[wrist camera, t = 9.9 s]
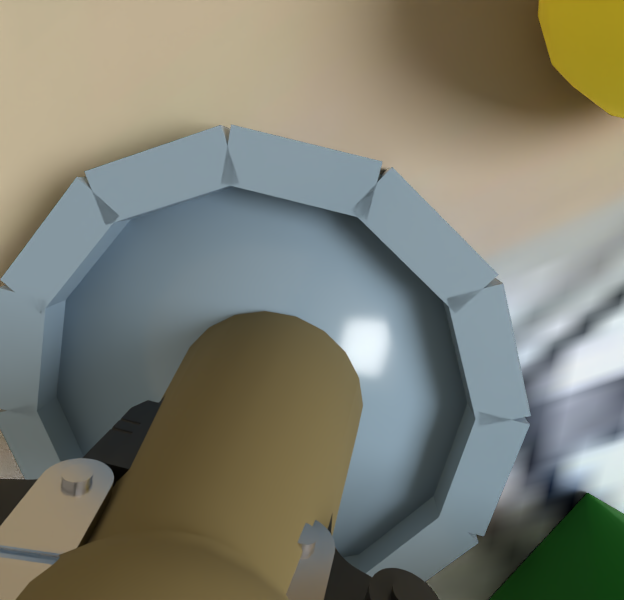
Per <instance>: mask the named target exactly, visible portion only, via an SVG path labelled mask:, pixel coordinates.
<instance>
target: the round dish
mask: <svg viewBox="0 0 624 600" xmlns="http://www.w3.org/2000/svg"><path fill="white" fill-rule="evenodd" d="M381 166H382V161H378V160H374V159H370V158H366V157H361V156H357V155H353V154H349V153H345V152H341V151H337V150H333V149H329V148H325V147H321V146H317V145H312V144H308V143H304V142H300V141H296V140H292V139H288V138H284V137H280V136H276V135H272V134H267V133H263V132H259V131H255V130H251V129H247V128H243V127H239V126H235V125H231V129H229V128H227V127H224V126H222V125H219V126H216V127H214V128H211V129H208V130H205V131H202V132H199V133H196V134H193V135H190V136H187V137H184V138H181V139H178V140H175V141H172V142H169V143H166V144H164V145H161V146H158V147H155V148H152V149H149V150H146V151H143V152H140V153H137V154H134V155H131V156H128V157H125V158H122V159H119V160H116V161H114V162H111V163H108V164H105V165H102V166H99V167H96V168H93V169H90V170H87V171H84V172H85V174H86V177H76V179H75V180H74V181H73V183H72V184H71V185H70V187H69V188H68V189H67V191H66V192H65V193H64V195H63V196H62V197H61V199H60V200H59V201H58V203H57V204H56V205H55V207H54V208H53V210H52V211H51V212H50V214H49V215H48V216H47V218H46V219H45V220H44V222H43V223H42V224H41V226H40V227H39V228H38V230H37V231H36V232H35V234H34V235H33V236H32V238H31V239H30V240H29V242H28V243H27V244H26V246H25V247H24V248H23V250H22V251H21V252H20V254H19V255H18V257H17V258H16V259H15V261H14V262H13V263H12V265H11V266H10V267H9V269H8V270H7V271H6V273H5V274H4V275H3V277H2V278H1V279H0V280H1V281H2V282H4V283H5V284H6V285H5V286H1V287H0V430H1V432H2V434H3V436H4V438H5V440H6V442H7V444H8V446H9V448H10V450H11V452H12V454H13V456H14V458H15V460H16V462H17V464H18V466H19V468H20V470H21V472H22V474H23V476H24V478H25V480H30V479H38V478H39V477H40V476H41V475H42V474H43V473H44V472H45V470H47V469H48V468H49V467H51V466H53V465H55V464H57V463H59V462H62V461H65V460H70V459H77V458H83V457H84V456H85V455H86V454H87V452H88V451H89V450H90V449H91V448H92V447H93V446H94V445H95V444H96V443H97V442H98V441H99V440H100V439H101V438H102V437H103V436H104V435H105V434H106V433H107V432H108V431H109V430H110V429H112V427H113V426H114V425H115V424H116V423H117V422H118V421H119V420H121V418H122V417H123V416H124V415H125V414H126V412H127V411H128V410H129V409H130V408H131V407H133V406H136V405H138V404H140V403H142V402H145V401H147V400H150V401H154V402H157V403H159V402H160V401H161V399H162V397H163V395H164V393H165V392H166V390H167V388H168V386H169V384H170V382H171V381H172V379H173V377H174V375H175V373H176V371H177V369H178V368H179V366H180V364H181V362H182V360H183V358H184V357H185V355H186V353H187V351H188V349H189V347H190V346H191V345H192V344H193V343H194V342H195V341H196V340H197V339H198V338H199V337H200V336H201V335H202V334H203V333H204V332H205V331H206V330H207V329H208V328H209V327H211V326H213V325H215V324H217V323H219V322H221V321H223V320H225V319H228V318H230V317H232V316H234V315H237V314H245V313H253V312H261V311H268V312H274V313H280V314H285V315H291V316H296V317H298V318H300V319H302V320H304V321H306V322H308V323H310V324H312V325H314V326H316V327H318V328H320V329H322V330H324V331H325V332H326V333H327V334H328V335H329V336H330V337H331V338H332V339H333V340H334V341H335V342H336V343H337V344H338V345H339V346H340V347H341V348H342V349H343V350H344V351H345V352H346V354H347V356H348V357H349V359H350V361H351V363H352V365H353V367H354V369H355V371H356V373H357V375H358V377H359V380H360V387H361V394H362V401H363V408H362V413H361V418H360V422H359V427H358V432H357V436H356V440H355V444H354V448H353V453H352V457H351V461H350V465H349V469H348V473H347V477H346V482H345V486H344V490H343V494H342V498H341V502H340V506H339V511H338V515H337V519H336V523H335V527H334V531H333V535H332V537H333V539H334V542H335V547H336V549H337V551H338V552H339V553H340V555H341V556H342V557H343V558H344V559H345V560H346V561H347V562H348V563H350V564H351V565H352V566H354V567H355V568H357V569H359V570H360V571H362V572H364V573H366V574H367V575H369V576H371V577H373V576H374V574H375V573H377V572H378V571H380V570H382V569H385V568H399V569H403V570H406V571H408V572H411V573H413V574H415V575H416V576H418V577H419V578H421V579H422V580H423V581H424V582H426V581H427V580H428V579H430V578H431V577H432V576H434V575H435V574H437V573H438V572H439V571H441V570H442V569H443V568H445V567H446V566H448V565H449V564H450V563H452V562H453V561H454V560H456V559H457V558H459V557H460V556H461V555H463V554H464V553H465V552H467V551H468V550H470V549H471V548H472V547H474V546H475V545H476V544H478V543H479V542H478V539H477V536H476V535H480V536H484V535H485V532H486V530H487V528H488V525H489V523H490V520H491V518H492V515H493V513H494V511H495V508H496V506H497V503H498V501H499V498H500V496H501V493H502V491H503V489H504V486H505V484H506V481H507V479H508V476H509V474H510V472H511V469H512V467H513V464H514V462H515V459H516V457H517V455H518V452H519V450H520V447H521V445H522V442H523V440H524V438H525V435H526V433H527V430H528V428H529V425H530V424H529V423H528V421H527V420H526V419H525V417H527V416H531V415H530V410H529V405H528V400H527V396H526V391H525V386H524V381H523V376H522V372H521V367H520V362H519V357H518V352H517V347H516V343H515V338H514V333H513V328H512V323H511V318H510V314H509V309H508V304H507V299H506V294H505V290H504V285H503V283H502V282H500V281H499V280H497V279H496V278H495V277H496V276H498V274H497V273H496V272H495V271H494V270H493V269H492V268H491V267H490V266H489V265H488V264H487V263H486V262H485V261H484V259H483V258H482V257H481V256H480V255H479V254H478V253H477V252H476V251H475V250H474V249H473V248H472V247H471V246H470V245H469V244H468V243H467V242H466V241H465V240H464V239H463V238H462V237H461V236H460V235H459V234H458V233H457V232H456V231H455V230H454V229H453V228H452V227H451V226H450V225H449V224H448V223H447V222H446V221H445V220H444V219H443V218H442V217H441V216H440V215H439V214H438V213H437V212H436V211H435V210H434V209H433V208H432V207H431V206H430V205H429V204H428V203H427V202H426V201H425V200H424V199H423V198H422V197H421V196H420V195H419V194H418V193H417V192H416V191H415V190H414V189H413V188H412V187H411V186H410V185H409V184H408V183H407V182H406V181H405V180H404V179H403V178H402V177H401V176H400V175H399V174H398V173H397V172H396V171H395V170H394V168H393V167H391V168H388V169H386V170H385V172H384V173H383V174H380V169H381Z"/></svg>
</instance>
